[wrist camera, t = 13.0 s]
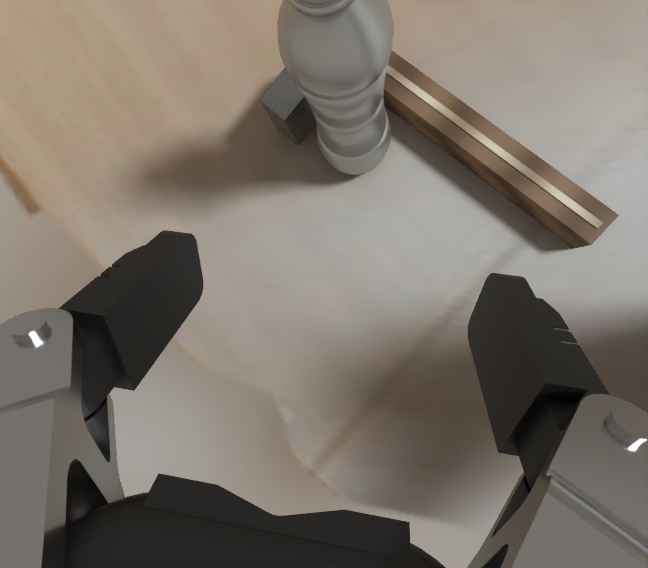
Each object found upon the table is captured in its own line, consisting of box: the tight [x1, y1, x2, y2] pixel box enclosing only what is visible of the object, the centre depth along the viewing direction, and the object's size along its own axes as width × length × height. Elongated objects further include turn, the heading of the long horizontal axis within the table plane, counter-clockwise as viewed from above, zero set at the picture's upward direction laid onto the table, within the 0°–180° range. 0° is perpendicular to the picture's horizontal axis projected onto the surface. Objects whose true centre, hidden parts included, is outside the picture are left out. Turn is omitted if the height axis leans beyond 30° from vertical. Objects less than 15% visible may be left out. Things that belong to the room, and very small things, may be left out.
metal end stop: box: [260, 67, 316, 145], centre depth 32 cm, size 3×7×5 cm, turn 139°
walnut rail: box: [383, 50, 619, 248], centre depth 31 cm, size 28×3×3 cm, turn 49°
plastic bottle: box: [277, 0, 394, 175], centre depth 24 cm, size 6×7×20 cm
